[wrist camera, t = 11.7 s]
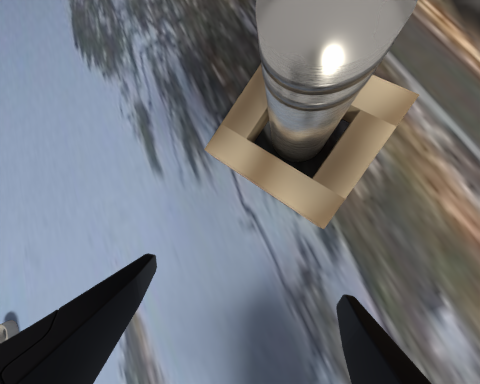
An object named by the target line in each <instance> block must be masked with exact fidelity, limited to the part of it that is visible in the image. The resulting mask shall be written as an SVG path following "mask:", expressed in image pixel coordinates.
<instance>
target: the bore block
mask: <svg viewBox="0 0 480 384" xmlns="http://www.w3.org/2000/svg"><path fill="white" fill-rule="evenodd" d="M418 96H419V94H416V93H414V92H412V91H409V90H407V89H405V88H402V87H400V86H398V85H395V84H393V83H391V82H388V81H386V80H384V79H381V78H379V77H377V76H374V75H372V76H371V78H370V79H369V80H368V82H367V83H366V85H365V86H364V87H363V88H362V89H361V91H360V92H359V94H358V95H357V97H356V98H355V100H354V101H353V103H352V104H351V106H350V107H349V109H348V110H347V112H346V113H345V115H344V116H343V118H342V119H343V120H345V121H347V122H349V123H350V124H349V126H348V127H347V128H346V130H345V131H344V133H343V134H342V136H341V137H340V138H339V140H338V141H337V143H336V144H335V146H334V147H333V149H332V150H331V151H330V153H329V154H328V156H327V157H326V159H325V160H324V161H323V163H322V164H321V166H320V167H319V169H318V170H317V171H316V173H315V174H314V176H313V177H312V179H311V178H310V177H308V176H307V175H305V174H303V173H302V172H300V171H298V170H297V169H295V168H293V167H292V166H290V165H288V164H287V163H285V162H283V161H282V160H280V159H279V158H277V157H275V156H274V155H272V154H270V153H269V152H267V151H265V150H264V149H262V148H260V147H259V146H257V145H255V144H254V141H255V140H256V138H257V137H258V135H259V134H260V132H261V131H262V130H263V128H264V127H265V125H266V124H267V122H268V121H269V114H268V106H267V98H266V91H265V83H264V79H263V75H262V68H261V64H260V66H259V67H258V69H257V70H256V72H255V73H254V75H253V76H252V78H251V79H250V81H249V82H248V84H247V86H246V87H245V89H244V90H243V92H242V93H241V95H240V96H239V98H238V99H237V101H236V102H235V104H234V105H233V107H232V108H231V110H230V111H229V113H228V114H227V116H226V117H225V119H224V120H223V122H222V123H221V125H220V126H219V128H218V129H217V131H216V133H215V134H214V136H213V137H212V139H211V140H210V142H209V143H208V145H207V146H206V148H205V149H204V150H205V151H207V152H208V153H209V154H211V155H212V156H213V157H215V158H216V159H218V160H219V161H221V162H222V163H224V164H225V165H227V166H228V167H230V168H231V169H233V170H234V171H236V172H237V173H239V174H240V175H242V176H243V177H245V178H246V179H248V180H249V181H251V182H252V183H254V184H255V185H257V186H258V187H260V188H261V189H263V190H264V191H266V192H267V193H269V194H270V195H272V196H273V197H275V198H276V199H278V200H279V201H281V202H282V203H284V204H285V205H287V206H288V207H290V208H291V209H293V210H294V211H296V212H297V213H299V214H300V215H302V216H303V217H305V218H306V219H308V220H309V221H311V222H312V223H314V224H315V225H317V226H318V227H320V228H323V229H324V228H325V227H326V225H327V224H328V222H329V221H330V220H331V218H332V217H333V215H334V214H335V213H336V211H337V210H338V208H339V207H340V206H341V204H342V203H343V201H344V200H345V199H346V197H347V196H348V194H349V193H350V191H351V190H352V189H353V187H354V186H355V184H356V183H357V182H358V180H359V179H360V177H361V176H362V175H363V173H364V172H365V170H366V169H367V168H368V166H369V165H370V163H371V162H372V161H373V159H374V158H375V156H376V155H377V153H378V152H379V151H380V149H381V148H382V146H383V145H384V144H385V142H386V141H387V139H388V138H389V137H390V135H391V134H392V132H393V131H394V130H395V128H396V127H397V125H398V124H399V122H400V121H401V120H402V118H403V117H404V115H405V114H406V113H407V111H408V110H409V108H410V107H411V106H412V104H413V103H414V101H415V100H416V99H417V97H418Z"/></svg>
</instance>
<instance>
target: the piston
mask: <svg viewBox="0 0 480 384" xmlns="http://www.w3.org/2000/svg"><path fill="white" fill-rule="evenodd" d="M416 3H417V0H256V22H257V29H258V33H257V34H258V46H259V53H260V58H261V68H262V75H263V79H264V83H265V91H266V98H267V106H268V114H269V121H270V129H271V137H272V143H273V147H274V149H275V151H276V152H277V154H278V155H279V156H281V157H282V158H283V159H285V160H288V161H291V162H303V161H307V160H309V159H311V158H313V157H315V156H316V155H317V154H318V153H319V152H320V150H321V149H322V148H323V146H324V145H325V143H326V142H327V140H328V139H329V137H330V136H331V134H332V133H333V131H334V130H335V128H336V127H337V125H338V124H339V122H340V121H341V119H342V118H343V116H344V115H345V113H346V112H347V110H348V109H349V107H350V106H351V104H352V103H353V101H354V100H355V98H356V97H357V95H358V94H359V92H360V91H361V89H362V88H363V87H364V86H365V85H366V83H367V82H368V80H369V79H370V78H371V76H372V75H373V73H374V72H375V70H376V68H377V66H378V65H379V64H380V63H381V61H382V60H383V58H384V57H385V55H386V54H387V52H388V51H389V49H390V48H391V47H392V45H393V43H394V41H395V40H396V38H397V36H398V33H399V32H400V30H401V29H402V27H403V26H404V24H405V23H406V21H407V20H408V18H409V17H410V15H411V13H412V12H413V10H414V8H415V6H416Z"/></svg>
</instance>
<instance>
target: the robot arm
mask: <svg viewBox="0 0 480 384" xmlns="http://www.w3.org/2000/svg"><path fill="white" fill-rule="evenodd" d="M156 269H157V263H156V256H155V255H153V254H145V255H143V256H142V257H140V258H139V259H137V260H135V261H134V262H132V263H131V264H129V265H127V266H126V267H124V268H123V269H121V270H119V271H118V272H116V273H115V274H113V275H111V276H110V277H108V278H107V279H105V280H103V281H102V282H100V283H99V284H97V285H95V286H94V287H92V288H91V289H89V290H88V291H86V292H84V293H83V294H81V295H80V296H78V297H76V298H75V299H73V300H72V301H70V302H68V303H67V304H65V305H64V306H62V307H60V308H59V310H56V311H54V312H52V313H51V314H49V315H48V316H46V317H44V318H43V319H41V320H39V321H38V322H36V323H34V324H33V325H31V326H30V327H28V328H26V329H25V330H23V331H21V332H19V333H18V334H16V335H14V336H12V337H11V338H9V339H7V340H5V341H4V342H2V343H0V384H93V383H94V381H95V380H96V378H97V376H98V375H99V373H100V371H101V369H102V368H103V366H104V364H105V363H106V361H107V359H108V358H109V356H110V354H111V353H112V351H113V349H114V348H115V346H116V344H117V342H118V341H119V339H120V337H121V336H122V334H123V332H124V331H125V329H126V327H127V326H128V324H129V322H130V321H131V319H132V317H133V315H134V314H135V312H136V310H137V309H138V307H139V305H140V303H141V301H142V299H143V297H144V295H145V293H146V291H147V289H148V287H149V285H150V282H151V280H152V278H153V276H154V274H155V272H156ZM337 316H338V322H339V329H340V335H341V341H342V347H343V351H344V356H345V360H346V364H347V368H348V372H349V375H350V379H351V383H352V384H431V383H430V381H429V380H428V379H427V378H426V377H425V376H424V375H423V374H422V372H421V371H420V370H419V369H418V368H417V367H416V366H415V364H414V363H413V362H412V361H411V360H410V359H409V358H408V357H407V355H406V354H405V353H404V352H403V351H402V350H401V349H400V348H399V346H398V345H397V344H396V343H395V342H394V341H393V340H392V339H391V337H390V336H389V335H388V334H387V333H386V332H385V331H384V330H383V328H382V327H381V326H380V325H379V324H378V323H377V322H376V321H375V319H374V318H373V317H372V316H371V315H370V314H369V313H368V312H367V310H366V309H365V308H364V307H363V306H362V305H361V304H360V302H359V301H358V300H357V299H356V298H355V297H354V296H351V295H346V294H344V295H343V296H342V297H341V299H340V301H339V302H338V304H337Z"/></svg>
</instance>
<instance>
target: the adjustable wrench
mask: <svg viewBox="0 0 480 384" xmlns="http://www.w3.org/2000/svg"><path fill="white" fill-rule="evenodd" d="M18 333H19V330H18V326H17V324H16V322H15V321H13V320H9V321H7V322H4V323H2V324H0V343H2V342H4V341H5V340H7V339H9V338H11V337H12V336H14V335H16V334H18Z"/></svg>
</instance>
